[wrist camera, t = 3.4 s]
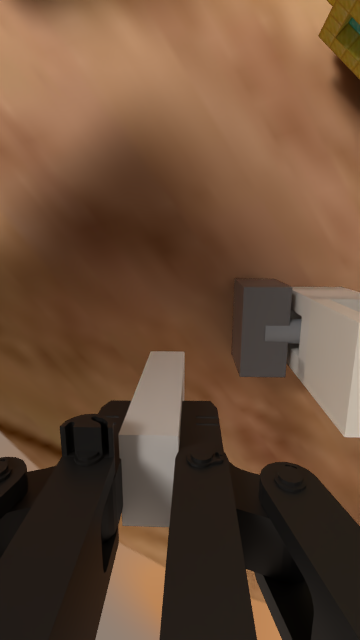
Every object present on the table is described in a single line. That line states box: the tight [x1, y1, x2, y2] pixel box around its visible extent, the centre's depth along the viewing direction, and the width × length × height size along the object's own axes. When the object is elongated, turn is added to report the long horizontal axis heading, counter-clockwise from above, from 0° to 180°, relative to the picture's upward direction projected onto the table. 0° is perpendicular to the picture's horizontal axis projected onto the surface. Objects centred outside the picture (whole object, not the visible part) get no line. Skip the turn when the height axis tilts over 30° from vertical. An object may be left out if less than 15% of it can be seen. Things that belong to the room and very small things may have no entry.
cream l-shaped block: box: [286, 287, 360, 437], centre depth 19 cm, size 4×5×11 cm
